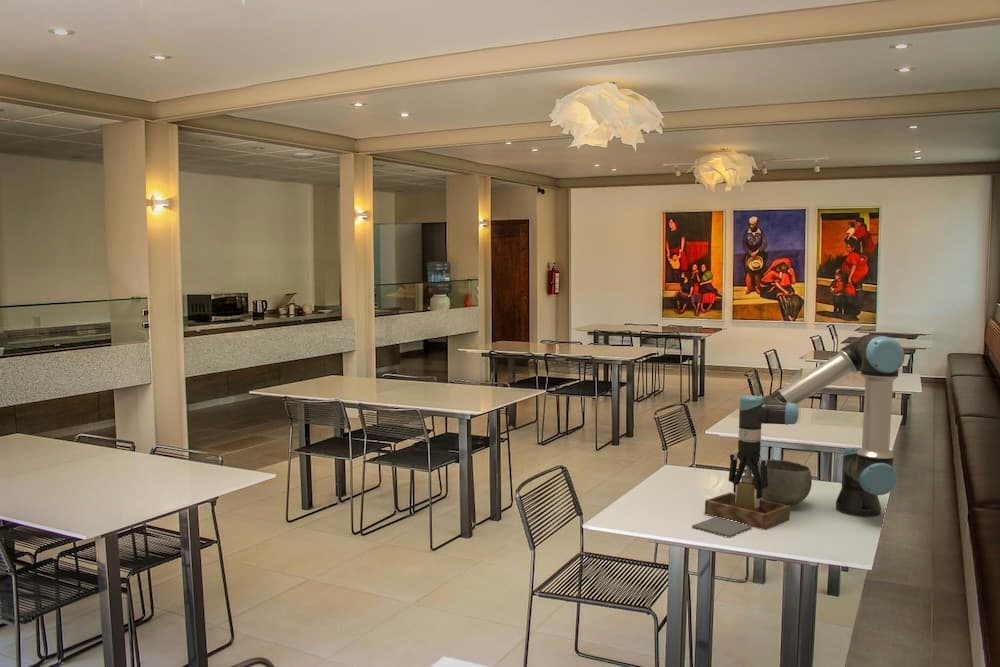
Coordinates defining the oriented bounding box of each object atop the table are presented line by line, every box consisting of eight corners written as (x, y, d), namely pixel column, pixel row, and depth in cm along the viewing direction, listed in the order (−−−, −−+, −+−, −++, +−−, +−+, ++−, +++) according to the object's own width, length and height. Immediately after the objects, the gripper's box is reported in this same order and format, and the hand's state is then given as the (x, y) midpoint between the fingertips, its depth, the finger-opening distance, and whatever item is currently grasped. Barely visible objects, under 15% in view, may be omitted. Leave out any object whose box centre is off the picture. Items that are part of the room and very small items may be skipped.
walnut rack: (789, 520, 288) (789, 505, 288) (765, 529, 277) (766, 515, 277) (729, 505, 305) (729, 492, 305) (704, 514, 294) (705, 500, 293)
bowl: (800, 515, 294) (802, 473, 293) (744, 505, 306) (745, 465, 305) (817, 503, 310) (819, 463, 309) (763, 493, 323) (765, 455, 322)
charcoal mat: (751, 529, 278) (751, 526, 278) (729, 537, 268) (729, 535, 268) (714, 519, 288) (714, 517, 288) (692, 527, 278) (692, 525, 278)
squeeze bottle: (742, 521, 286) (744, 470, 285) (730, 514, 294) (732, 464, 293) (763, 519, 288) (765, 468, 287) (750, 513, 296) (752, 463, 295)
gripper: (719, 437, 293) (716, 500, 295) (769, 446, 279) (767, 513, 281) (730, 434, 299) (728, 497, 300) (780, 443, 285) (778, 508, 286)
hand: (747, 504), depth 291 cm, fingers closed on squeeze bottle, 6 cm apart
